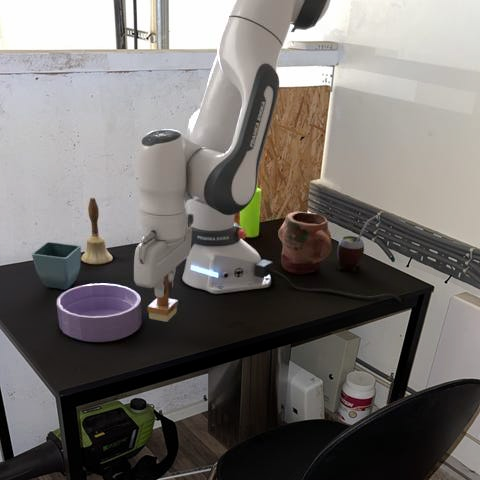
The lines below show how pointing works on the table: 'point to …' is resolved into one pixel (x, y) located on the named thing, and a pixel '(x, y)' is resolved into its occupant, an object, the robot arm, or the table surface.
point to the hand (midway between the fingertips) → (164, 292)
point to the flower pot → (57, 264)
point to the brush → (163, 305)
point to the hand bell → (95, 240)
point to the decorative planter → (304, 242)
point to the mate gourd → (351, 250)
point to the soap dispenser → (251, 215)
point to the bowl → (99, 312)
